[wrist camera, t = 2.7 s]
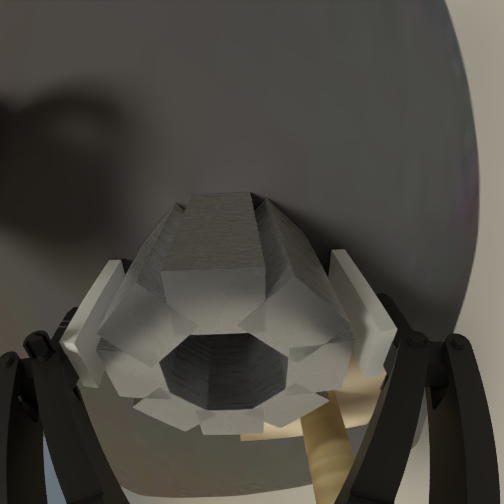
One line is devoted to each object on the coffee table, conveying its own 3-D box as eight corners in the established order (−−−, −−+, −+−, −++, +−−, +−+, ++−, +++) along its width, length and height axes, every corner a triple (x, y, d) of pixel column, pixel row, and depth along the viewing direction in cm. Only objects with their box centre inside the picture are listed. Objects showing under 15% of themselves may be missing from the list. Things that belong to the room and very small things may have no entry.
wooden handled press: (231, 341, 18) (236, 497, 9) (402, 323, 19) (468, 439, 10) (240, 430, 24) (246, 529, 15) (364, 414, 25) (393, 501, 16)
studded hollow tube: (130, 200, 14) (65, 274, 8) (313, 190, 14) (373, 260, 8) (160, 337, 18) (141, 431, 12) (302, 331, 18) (328, 424, 12)
